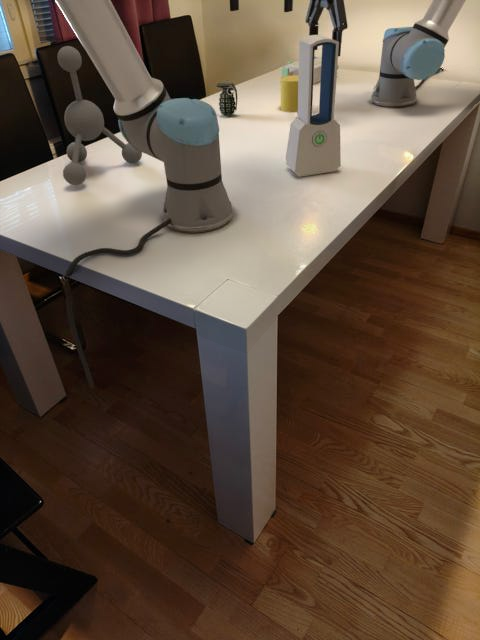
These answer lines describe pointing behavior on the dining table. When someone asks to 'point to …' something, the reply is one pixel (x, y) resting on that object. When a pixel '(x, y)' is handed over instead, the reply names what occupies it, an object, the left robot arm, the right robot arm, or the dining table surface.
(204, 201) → the left robot arm
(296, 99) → the canister
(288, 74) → the decorative block
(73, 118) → the molecular model
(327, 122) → the electronic device
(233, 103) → the grenade
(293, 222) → the dining table surface
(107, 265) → the dining table surface
